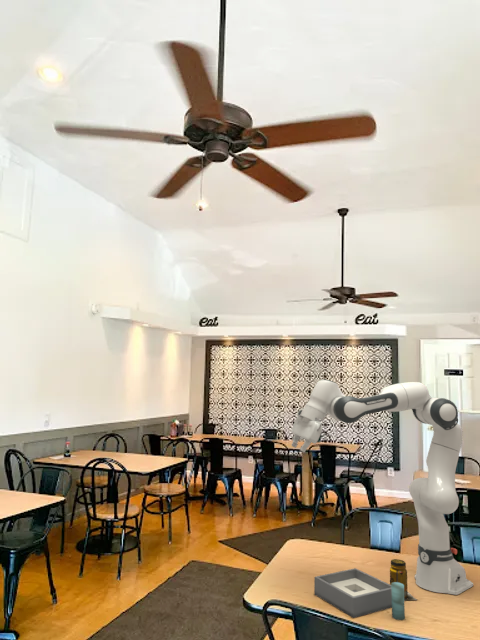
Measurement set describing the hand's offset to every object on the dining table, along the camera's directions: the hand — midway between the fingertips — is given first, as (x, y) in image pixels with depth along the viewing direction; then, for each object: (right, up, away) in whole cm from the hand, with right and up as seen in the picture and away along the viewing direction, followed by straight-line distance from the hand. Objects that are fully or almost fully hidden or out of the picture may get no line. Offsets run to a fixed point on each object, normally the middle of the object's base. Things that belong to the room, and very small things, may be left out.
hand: (297, 449), depth 183 cm
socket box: (+18, -49, -17) cm, 55 cm away
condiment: (+36, -50, -13) cm, 63 cm away
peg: (+29, -47, -29) cm, 63 cm away
